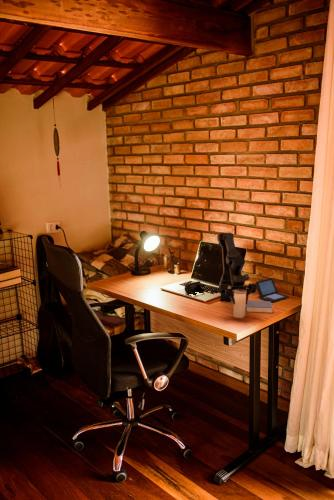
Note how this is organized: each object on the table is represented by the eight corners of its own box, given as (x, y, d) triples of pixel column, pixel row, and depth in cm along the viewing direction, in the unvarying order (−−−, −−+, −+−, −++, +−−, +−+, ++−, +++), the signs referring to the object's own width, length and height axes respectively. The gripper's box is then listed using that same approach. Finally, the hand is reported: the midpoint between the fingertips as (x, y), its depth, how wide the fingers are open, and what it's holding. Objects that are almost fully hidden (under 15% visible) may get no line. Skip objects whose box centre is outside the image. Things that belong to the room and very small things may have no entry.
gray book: (245, 312, 245) (245, 306, 244) (243, 305, 255) (244, 300, 254) (272, 313, 243) (273, 307, 243) (270, 306, 253) (270, 301, 253)
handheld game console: (271, 303, 259) (272, 287, 257) (253, 297, 269) (254, 282, 267) (289, 298, 268) (290, 282, 266) (271, 292, 279) (272, 277, 277)
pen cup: (231, 316, 232) (232, 291, 229) (234, 312, 237) (235, 288, 235) (243, 318, 230) (245, 293, 227) (246, 314, 235) (247, 289, 232)
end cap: (196, 291, 280) (196, 280, 278) (205, 293, 274) (205, 282, 273) (184, 294, 273) (184, 283, 272) (192, 297, 268) (193, 286, 266)
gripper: (220, 268, 231) (224, 296, 223) (257, 267, 233) (262, 296, 225) (217, 279, 241) (220, 306, 232) (252, 278, 242) (257, 306, 234)
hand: (240, 303), depth 231 cm, fingers closed on pen cup, 6 cm apart
